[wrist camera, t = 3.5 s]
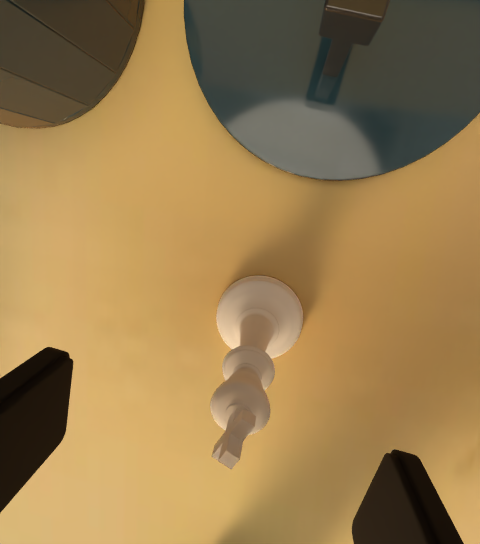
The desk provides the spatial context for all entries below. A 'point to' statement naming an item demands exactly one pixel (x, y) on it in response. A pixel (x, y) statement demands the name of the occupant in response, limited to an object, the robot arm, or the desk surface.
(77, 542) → the desk surface
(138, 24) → the pot
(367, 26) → the lid
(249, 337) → the chess piece
